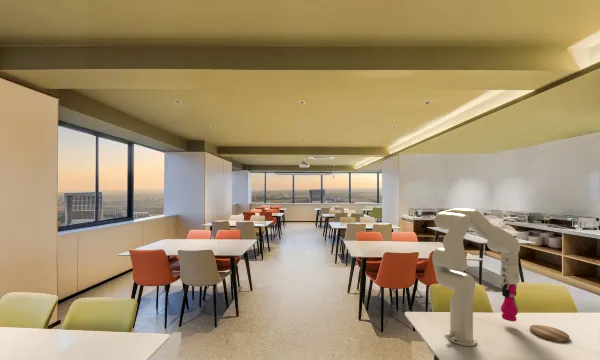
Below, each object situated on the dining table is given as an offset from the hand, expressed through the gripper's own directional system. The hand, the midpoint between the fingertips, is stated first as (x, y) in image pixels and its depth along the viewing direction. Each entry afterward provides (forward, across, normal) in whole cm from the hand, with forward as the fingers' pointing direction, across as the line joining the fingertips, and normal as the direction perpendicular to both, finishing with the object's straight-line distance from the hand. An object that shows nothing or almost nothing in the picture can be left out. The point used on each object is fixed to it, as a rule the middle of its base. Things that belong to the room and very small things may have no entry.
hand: (509, 295), depth 156 cm
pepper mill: (+12, 0, 0) cm, 12 cm away
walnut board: (+16, +8, -14) cm, 23 cm away
